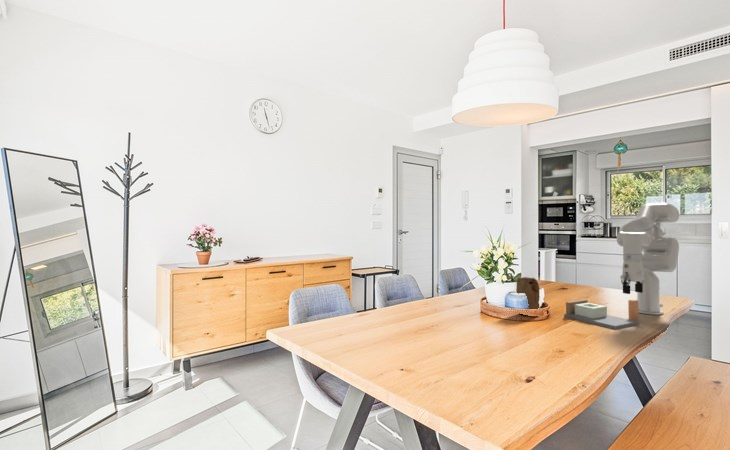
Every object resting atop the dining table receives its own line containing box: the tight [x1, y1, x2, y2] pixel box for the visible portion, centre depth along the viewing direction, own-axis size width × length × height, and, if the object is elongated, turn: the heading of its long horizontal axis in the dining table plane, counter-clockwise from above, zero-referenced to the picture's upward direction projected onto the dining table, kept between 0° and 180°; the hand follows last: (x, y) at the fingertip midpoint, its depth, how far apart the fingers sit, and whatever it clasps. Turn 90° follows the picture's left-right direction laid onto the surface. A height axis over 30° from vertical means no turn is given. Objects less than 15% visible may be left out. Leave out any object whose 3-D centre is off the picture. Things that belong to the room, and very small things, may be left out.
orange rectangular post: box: [627, 299, 640, 323], centre depth 184 cm, size 4×4×10 cm
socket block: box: [575, 302, 608, 319], centre depth 190 cm, size 10×10×5 cm
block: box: [516, 276, 541, 309], centre depth 199 cm, size 11×8×20 cm
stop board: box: [563, 299, 639, 330], centre depth 186 cm, size 17×26×8 cm, turn 24°
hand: (632, 292), depth 184 cm, fingers open, 9 cm apart
